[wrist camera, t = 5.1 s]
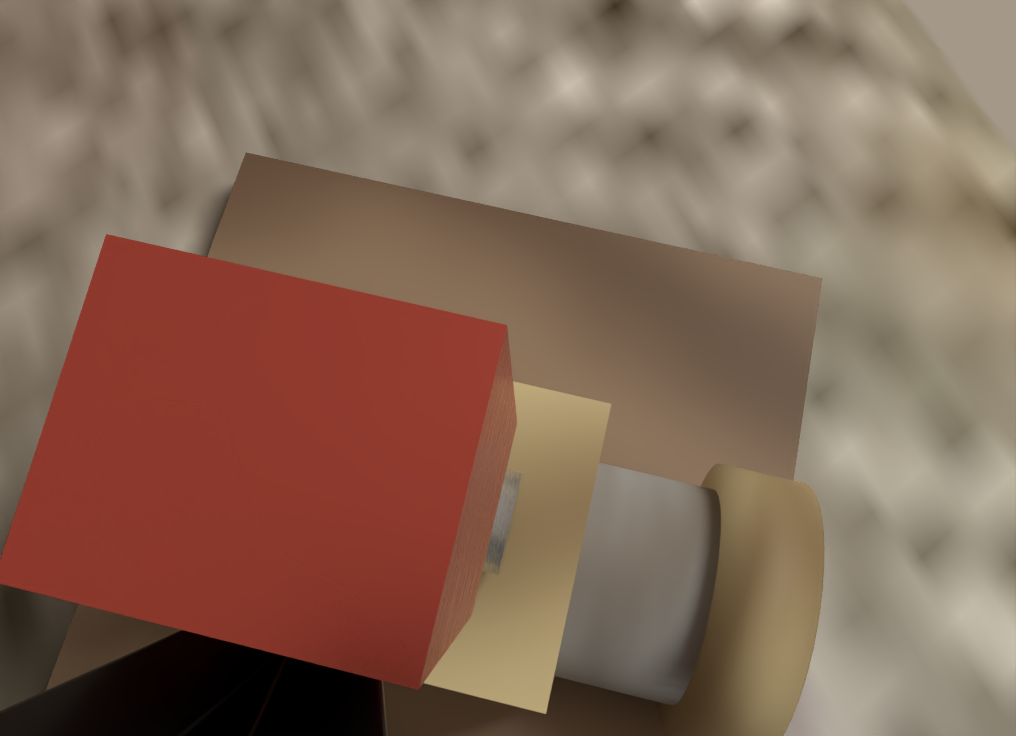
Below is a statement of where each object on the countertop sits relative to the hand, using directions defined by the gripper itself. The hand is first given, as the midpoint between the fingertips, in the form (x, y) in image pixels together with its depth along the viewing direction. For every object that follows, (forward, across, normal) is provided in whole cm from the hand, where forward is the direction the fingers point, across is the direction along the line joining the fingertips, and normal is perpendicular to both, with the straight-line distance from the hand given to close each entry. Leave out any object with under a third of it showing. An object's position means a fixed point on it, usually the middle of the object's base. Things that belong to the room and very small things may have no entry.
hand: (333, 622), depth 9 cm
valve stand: (+10, 0, -6) cm, 12 cm away
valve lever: (+5, 0, -2) cm, 5 cm away
